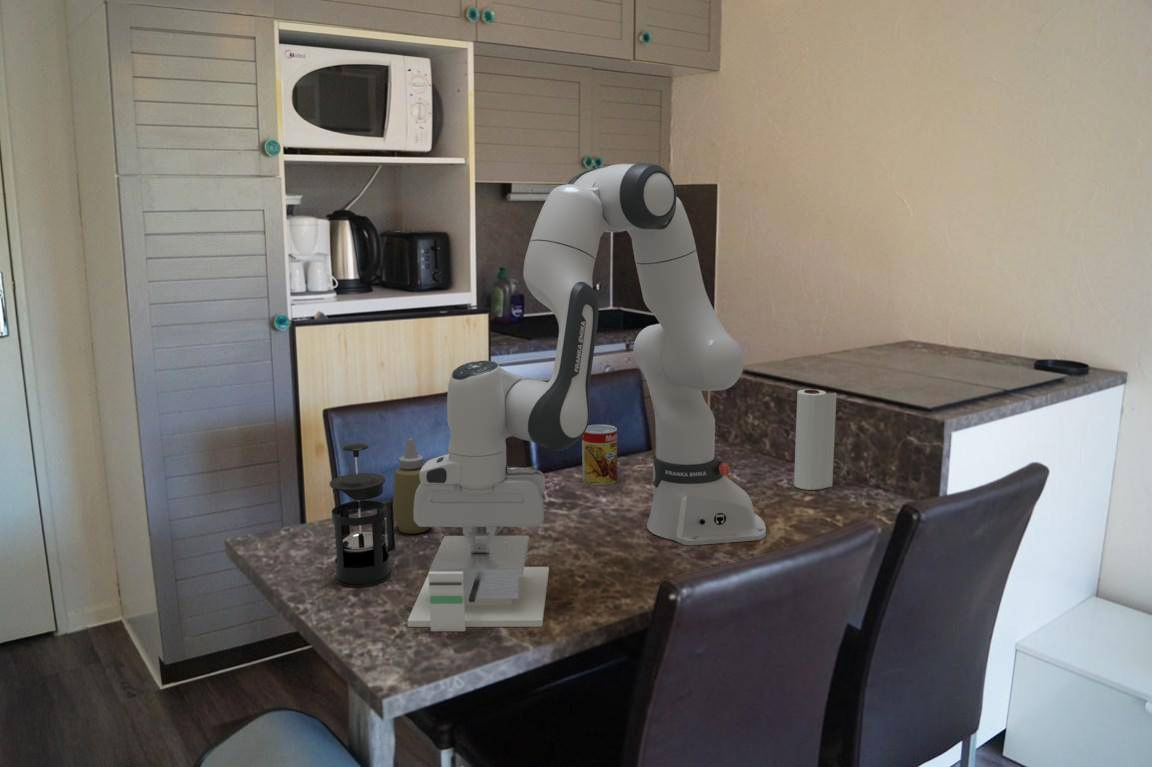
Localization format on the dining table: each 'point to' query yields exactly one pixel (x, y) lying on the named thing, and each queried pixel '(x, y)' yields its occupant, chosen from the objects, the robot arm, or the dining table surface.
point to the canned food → (599, 455)
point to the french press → (361, 545)
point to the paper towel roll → (814, 439)
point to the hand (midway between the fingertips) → (480, 551)
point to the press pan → (485, 565)
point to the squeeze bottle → (407, 489)
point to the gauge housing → (478, 603)
